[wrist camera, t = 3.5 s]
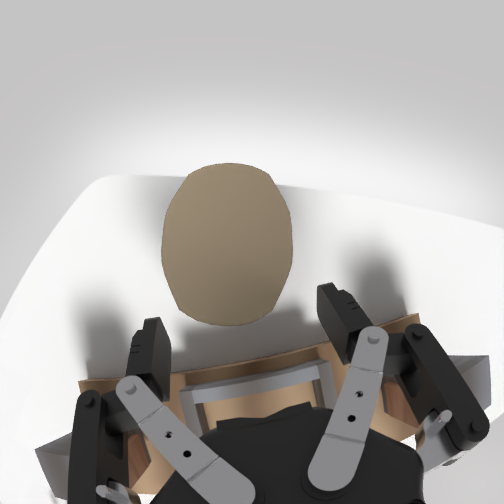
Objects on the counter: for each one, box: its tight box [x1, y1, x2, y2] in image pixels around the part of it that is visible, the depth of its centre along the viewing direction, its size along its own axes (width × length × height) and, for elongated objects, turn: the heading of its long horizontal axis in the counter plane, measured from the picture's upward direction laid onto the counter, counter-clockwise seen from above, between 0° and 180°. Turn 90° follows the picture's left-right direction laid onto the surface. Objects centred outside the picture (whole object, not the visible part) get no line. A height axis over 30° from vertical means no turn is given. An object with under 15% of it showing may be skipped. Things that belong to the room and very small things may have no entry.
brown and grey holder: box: [35, 313, 491, 500], centre depth 16 cm, size 32×12×11 cm, turn 102°
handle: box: [161, 163, 293, 326], centre depth 18 cm, size 5×6×15 cm
